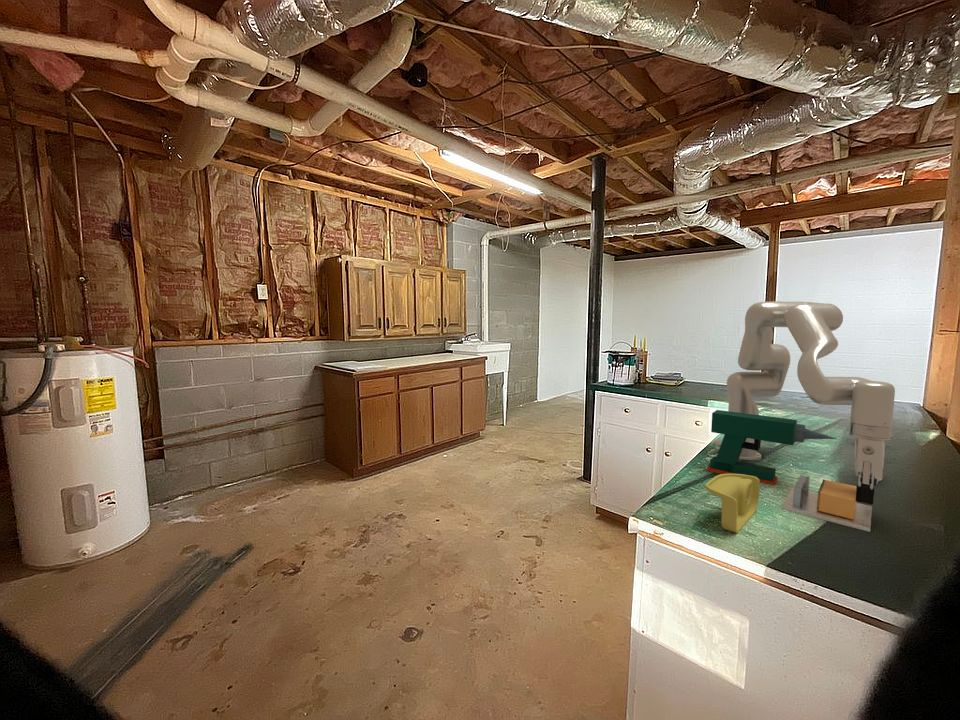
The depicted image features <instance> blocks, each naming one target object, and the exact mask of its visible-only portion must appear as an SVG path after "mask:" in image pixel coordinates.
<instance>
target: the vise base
mask: <svg viewBox="0 0 960 720" xmlns="http://www.w3.org/2000/svg"><path fill="white" fill-rule="evenodd" d="M810 480H811V479H810V476H807V475H803V474H800V476H799V478H798V479H797V481H796V482H795V485H794V486H793V488H791V489H790V491H789V493H788V495H786V498H785V499H784V502H783V503H782V506H781V510H784V511H788V512H792V513H796V514H799V515H804V516H807V517H811V518H815V519H818V520H823V521H826V522H830V523H834V524H839V525H842V526H846V527H849V528H853V529H857V530H861V531H865V532H869V533H870V532H871V525H872V513H873V505H870V504H866V503H861V502H856V507H855V513H854V519H850V518H846V517H842V516H838V515H834V514H830V513H826V512H822V511H818V510H817V499H818V493H815V492H812V491H810V489H809V488H810Z"/></svg>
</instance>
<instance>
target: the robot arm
mask: <svg viewBox="0 0 960 720" xmlns="http://www.w3.org/2000/svg"><path fill="white" fill-rule="evenodd" d="M843 322H844V315H843V312H842V310H841V309H840V308H839V307H838V306H836V305H835V304H832V303H824V302H811V301H777V300H776V301H774V300H773V301H760V302H759V301H758V302H755V303H753V304H751V305H750V306H749V308H748V309H747V311H746V312H745V317H744V333H743V337H742V341H741V344H740V349H739V353H738V357H737V364H738V366H739V367H740V368H741V369H742V370H746V371H737V372H733V373H731V374H730V375H729V376H728V377H727V379H726V389H727V397H728V405H727V407H728V410H727V411H730V412H738V413H746V414H754V415H760V414H759V413H760V412H759V407H758V405H757V403H756V402H755V400H754V398H774V397H777V396H778V395H780V393H781V391H782V390H783V386H784V384H785V381H786V379H787V374H788V371H789V368H790V364H791V354H790V351H789V349H788V347H786V346H784V345H782V344H778V343H777V344H776V343H772V341H773V337H774V332H773V329H772V328H787V329H788V331H789V332H790V334H791V336H792V338H793V339H794V341H795V343H796V345H797V346H798V347H797V348H799V350H800V352H801V356H800V357H799V359H798V362H797V372H796V375H797V379H798V381H799V383H800V385H801V387H802V388H803V391H804V393H805V395H807V397H808V398H809V400H811V401H812V402H814V403H816V404H818V405H822V406H850V407H851V408H850V419H849V432H848V435H850V436H852V437H855V438H854V454H853V455H854V457H853V458H854V459H853V460H854V461H853V462H854V474H855V476H856V477H858V479H857V480H858V481H857V482H858V483H857V484H856V486H857V489H856V503H861V504H865V505H870V506H873V505H874V498H875V497H874V496H875V487H874V485H873V483H874V477H875V479H878V482H880V481H882V480H883V474H884V473H883V472H884V465H885V464H884V461H885V450H886V449H885V447H886V443H885V442H886V441H890V440H891V439H892V433H893V431H892V429H893V419H894V407H895V406H894V405H895V394H896V389H895V386H894V385H893V384H892V383H889V382H885V381H880V380H879V381H878V380H871V379H868V378H865V377H861V376H825V374H824V373H823V372H822V370H821V368H820V366H819V364H818V360H819V359H821V358H824V357H827V356H829V355H830V354H832V353H833V352H834V351H835V350H837V348H838V346H839V341H838V340H837V338H836V337H835V335H834V333H833V331H836V330H838V329H839V328H840V327H841V326H842V325H843ZM745 442H749V443H754V439H750V438H746V441H745ZM721 443H722V440H720V439H719V440H718V439H714V441H713V444H714V445H715V446H716V447H720V446H721ZM761 459H762V454H761V453H760V452H758V451H756V450H751V449H745V448H743V449H742V452H741V454H740V457H739V460H741V461H759V460H761Z"/></svg>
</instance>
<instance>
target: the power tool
mask: <svg viewBox="0 0 960 720" xmlns="http://www.w3.org/2000/svg"><path fill="white" fill-rule="evenodd" d="M797 422H798V419H792V418H791V419H790V418H783V417H778V416H777V417H776V416H769V415H761V414H759V415H754V414H746V413H738V412H730V411H728V410H722V409H716V410H715V411H713V412H712V413H711V427H710V428H711V429H710V430H711V432H710V433H715V434H719V435H721V434H722V435H723V438H722V440H721V441H722V443H721V446H719V449H718V451H717V455H716V456H715V455H714V456H713V457H712V458H711V459H709V466H708V467H707V472H711V473H716V474H719V475H721V474H743V475H750V476H755V477H757V478H758V479H759V481H760V484H761V483H762V484H766V485H770V486H775V485H776V483H777V481H778V480H779V479H778V477H779V476H776V472H777V471H776V470H777V468H775V467H770V466H766V465H761V464H755V463H750V462H744V461H742V460H741V461H740V459H739V457H740V454H741V452H742V449H743V448H745V449H751V450H756V452H758V451H759V450H760V449H761V443H762V442H761V441H764V442H769V443H776V444H783V445H788V446H794V444H795V442H797V443H804V442H805V440H837V439H838V438H836V437H833V436H830V435H827V434H824V433H822V432H817V431H814V430H810V429H807V428H806V425H805V424H801V423H797ZM746 438H750V439H754V443H749V442H745V441H746Z"/></svg>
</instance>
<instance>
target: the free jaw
mask: <svg viewBox="0 0 960 720" xmlns="http://www.w3.org/2000/svg"><path fill="white" fill-rule="evenodd" d="M856 489H857V485H851V484H847V483H843V482H838V481H833V480H827V479H822V482H821V484H820V485H819V489H818V491H817V494H818V499H817V510H818V511H822V512H826V513H830V514H834V515H838V516H842V517H846V518H850V519H854V513H855V507H856V503H857V501H856Z"/></svg>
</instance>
